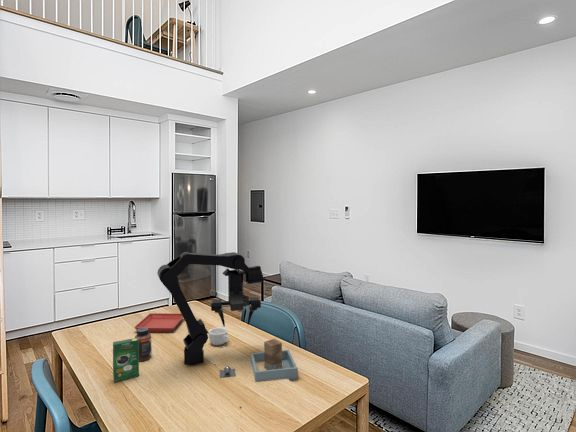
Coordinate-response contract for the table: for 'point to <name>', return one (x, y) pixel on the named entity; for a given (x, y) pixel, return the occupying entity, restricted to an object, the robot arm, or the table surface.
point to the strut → (272, 354)
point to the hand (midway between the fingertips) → (236, 325)
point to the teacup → (218, 336)
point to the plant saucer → (160, 322)
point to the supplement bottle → (144, 344)
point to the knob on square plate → (227, 372)
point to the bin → (287, 372)
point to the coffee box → (125, 359)
